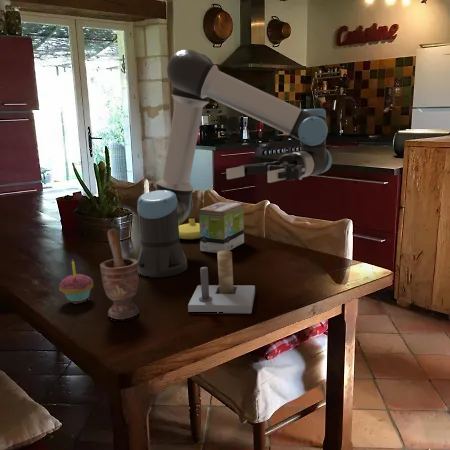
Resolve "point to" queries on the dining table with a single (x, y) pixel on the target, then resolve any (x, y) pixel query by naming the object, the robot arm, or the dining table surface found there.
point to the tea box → (221, 226)
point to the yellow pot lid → (189, 230)
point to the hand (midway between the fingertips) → (247, 175)
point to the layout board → (221, 297)
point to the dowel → (225, 272)
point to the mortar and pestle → (120, 280)
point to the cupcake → (76, 286)
